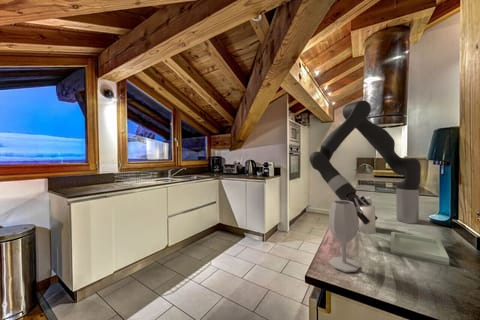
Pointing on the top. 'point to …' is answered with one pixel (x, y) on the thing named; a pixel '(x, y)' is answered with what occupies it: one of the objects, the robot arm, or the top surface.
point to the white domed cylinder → (370, 214)
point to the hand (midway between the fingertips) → (371, 221)
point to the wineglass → (343, 232)
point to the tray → (419, 248)
